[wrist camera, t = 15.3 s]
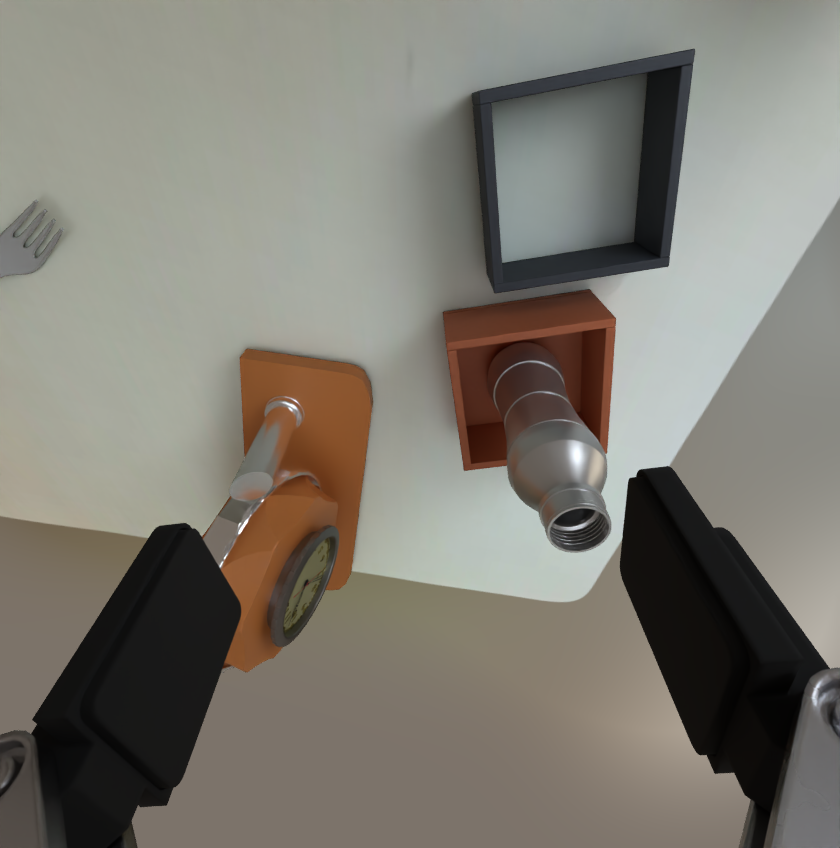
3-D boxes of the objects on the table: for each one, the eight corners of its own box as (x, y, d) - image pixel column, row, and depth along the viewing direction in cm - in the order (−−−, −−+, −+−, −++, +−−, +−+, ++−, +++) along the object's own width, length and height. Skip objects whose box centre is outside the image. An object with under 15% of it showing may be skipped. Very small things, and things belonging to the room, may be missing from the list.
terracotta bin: (442, 311, 41) (445, 342, 36) (589, 289, 40) (616, 317, 34) (459, 429, 48) (464, 471, 42) (585, 412, 47) (607, 453, 41)
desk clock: (252, 565, 59) (184, 746, 42) (242, 345, 43) (125, 497, 26) (351, 576, 60) (323, 756, 43) (377, 365, 44) (349, 524, 27)
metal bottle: (500, 409, 46) (544, 582, 29) (471, 352, 42) (502, 510, 26) (565, 382, 44) (651, 549, 27) (540, 320, 41) (621, 467, 24)
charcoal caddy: (471, 93, 32) (478, 90, 28) (659, 56, 31) (695, 48, 27) (486, 274, 39) (494, 293, 35) (641, 249, 38) (668, 266, 34)
